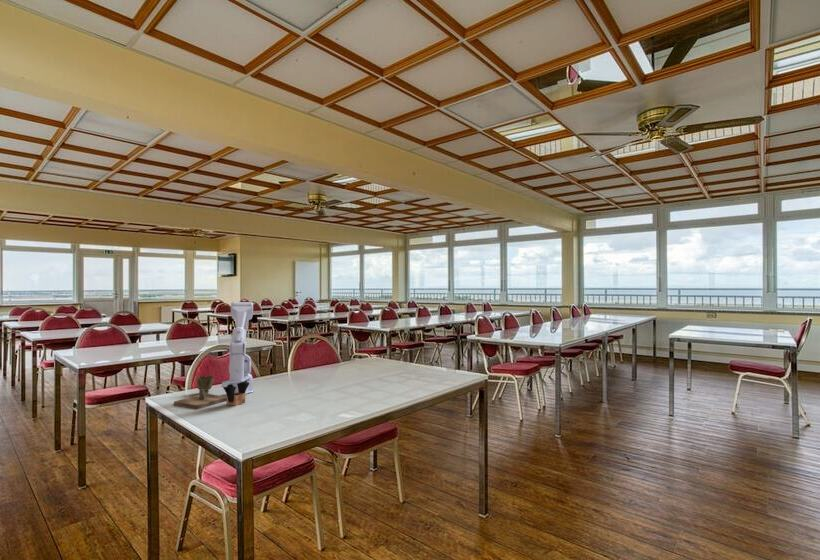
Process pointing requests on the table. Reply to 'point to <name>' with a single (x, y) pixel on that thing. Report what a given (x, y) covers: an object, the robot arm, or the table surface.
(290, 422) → the table surface
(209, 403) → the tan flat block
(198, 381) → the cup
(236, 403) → the hollow wooden block
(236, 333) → the robot arm
